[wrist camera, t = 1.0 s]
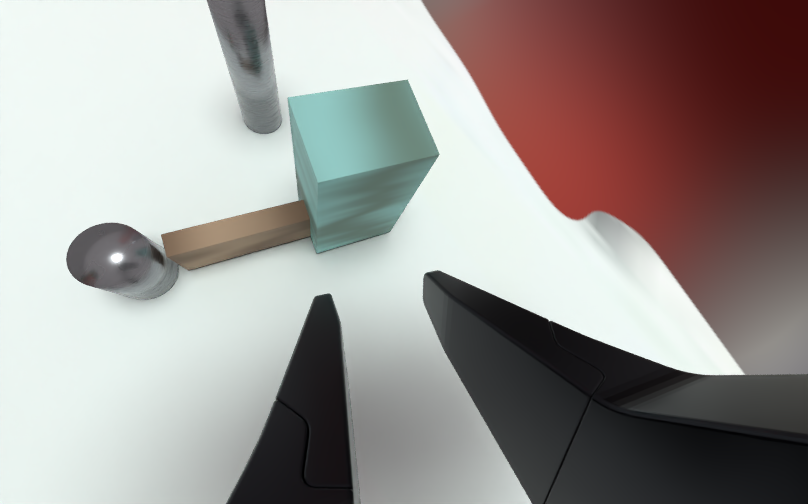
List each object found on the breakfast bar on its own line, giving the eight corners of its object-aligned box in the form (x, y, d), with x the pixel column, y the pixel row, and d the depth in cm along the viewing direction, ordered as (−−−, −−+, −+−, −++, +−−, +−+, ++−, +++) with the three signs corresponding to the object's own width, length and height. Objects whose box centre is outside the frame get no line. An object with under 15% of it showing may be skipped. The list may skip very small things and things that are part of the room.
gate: (193, 290, 19) (83, 237, 10) (177, 231, 20) (59, 131, 11) (389, 231, 23) (439, 154, 14) (371, 184, 24) (407, 79, 14)
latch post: (289, 120, 24) (272, -29, 14) (262, 140, 23) (225, -5, 13) (263, 96, 24) (230, -68, 14) (235, 115, 23) (180, -46, 13)
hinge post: (190, 271, 20) (161, 253, 16) (143, 310, 19) (100, 301, 15) (152, 236, 20) (113, 210, 16) (102, 273, 19) (49, 254, 15)
